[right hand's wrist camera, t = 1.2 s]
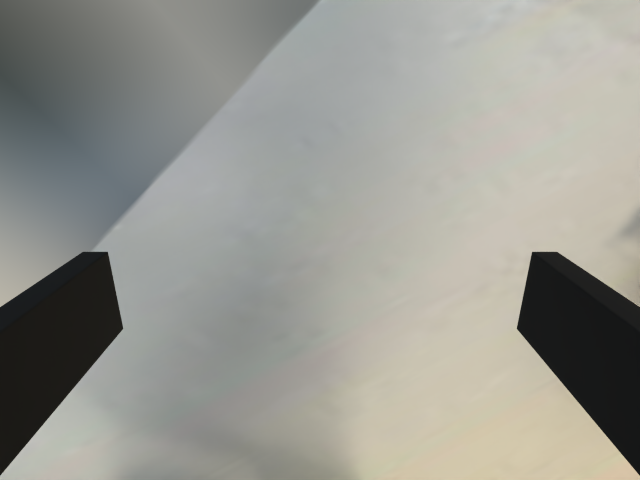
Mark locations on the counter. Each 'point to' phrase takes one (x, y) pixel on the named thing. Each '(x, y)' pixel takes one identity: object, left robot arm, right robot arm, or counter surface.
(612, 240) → the counter surface
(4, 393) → the right robot arm
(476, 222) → the counter surface
